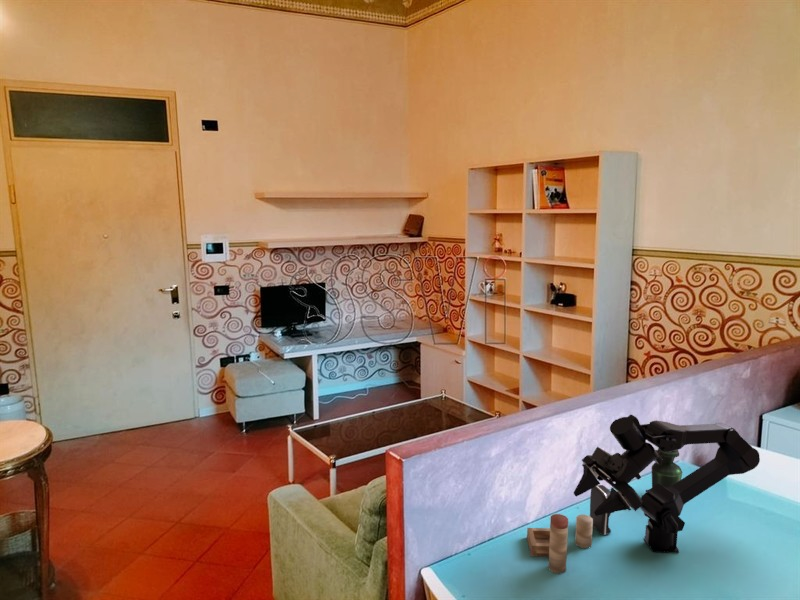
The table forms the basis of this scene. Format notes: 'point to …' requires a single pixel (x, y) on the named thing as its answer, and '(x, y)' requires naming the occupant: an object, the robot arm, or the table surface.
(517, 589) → the table surface
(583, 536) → the short pin
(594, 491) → the battery charger
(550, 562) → the long pin
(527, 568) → the table surface
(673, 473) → the potion bottle
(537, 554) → the light brown square frame
